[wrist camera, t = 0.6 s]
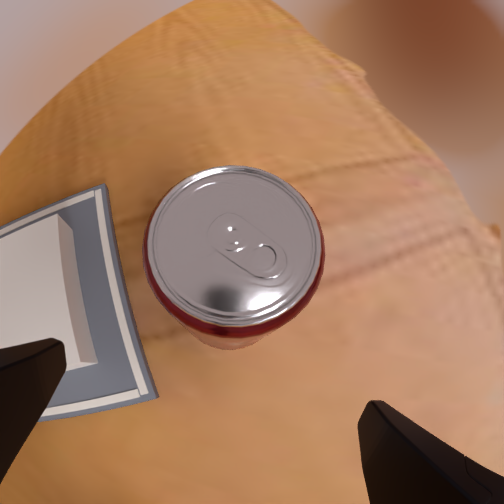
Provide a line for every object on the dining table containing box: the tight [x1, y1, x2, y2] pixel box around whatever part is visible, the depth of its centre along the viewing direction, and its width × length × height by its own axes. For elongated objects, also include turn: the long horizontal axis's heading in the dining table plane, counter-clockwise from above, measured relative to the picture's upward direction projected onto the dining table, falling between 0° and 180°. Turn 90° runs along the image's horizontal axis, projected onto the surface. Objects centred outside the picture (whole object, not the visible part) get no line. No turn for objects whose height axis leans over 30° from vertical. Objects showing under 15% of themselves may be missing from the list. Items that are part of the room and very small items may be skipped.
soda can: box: [142, 165, 325, 350], centre depth 17 cm, size 7×7×12 cm
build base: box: [0, 183, 159, 422], centre depth 18 cm, size 18×18×4 cm
